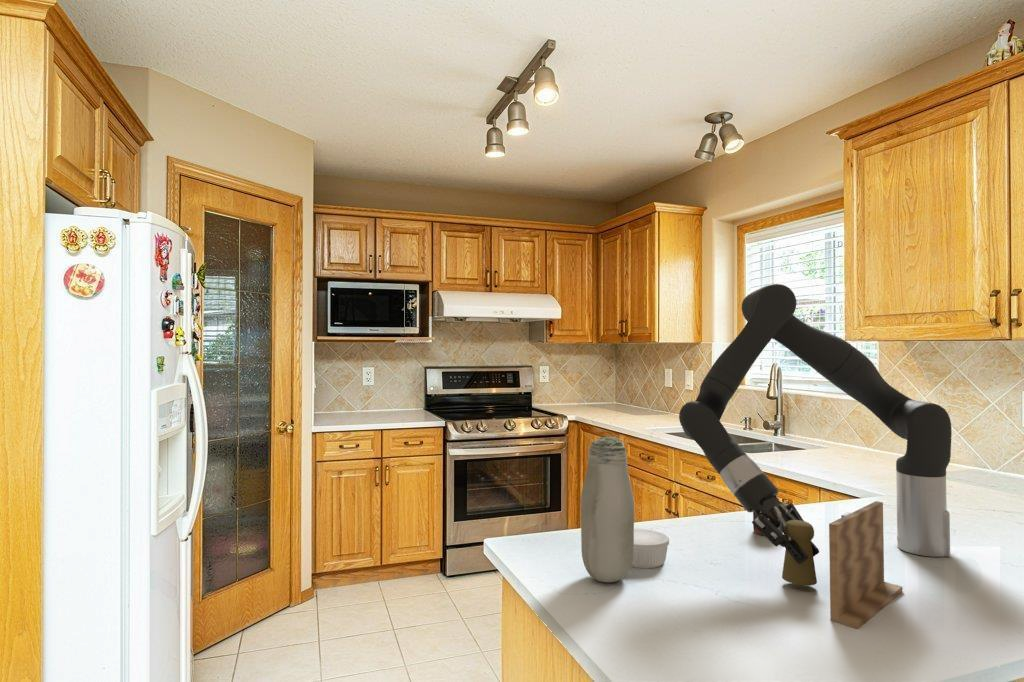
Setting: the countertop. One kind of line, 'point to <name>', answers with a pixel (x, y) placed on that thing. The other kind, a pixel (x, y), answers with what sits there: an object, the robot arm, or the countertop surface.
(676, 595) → the countertop surface
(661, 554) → the ramekin
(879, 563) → the shelf wall
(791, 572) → the olive pawn figure
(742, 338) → the robot arm
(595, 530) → the grey bottle
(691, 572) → the countertop surface
